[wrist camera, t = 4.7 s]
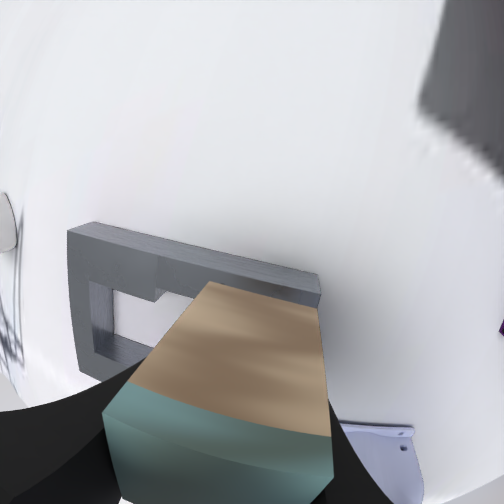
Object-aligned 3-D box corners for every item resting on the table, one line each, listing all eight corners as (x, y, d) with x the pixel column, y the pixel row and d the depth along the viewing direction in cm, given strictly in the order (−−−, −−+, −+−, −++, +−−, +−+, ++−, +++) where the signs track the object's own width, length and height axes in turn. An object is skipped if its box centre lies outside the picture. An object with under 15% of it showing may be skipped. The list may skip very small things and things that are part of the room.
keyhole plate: (317, 274, 18) (321, 294, 15) (273, 408, 21) (269, 435, 19) (93, 221, 19) (67, 230, 16) (97, 353, 23) (79, 371, 20)
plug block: (317, 308, 10) (333, 477, 4) (287, 390, 11) (270, 540, 5) (209, 281, 11) (102, 412, 4) (195, 365, 12) (122, 498, 5)
